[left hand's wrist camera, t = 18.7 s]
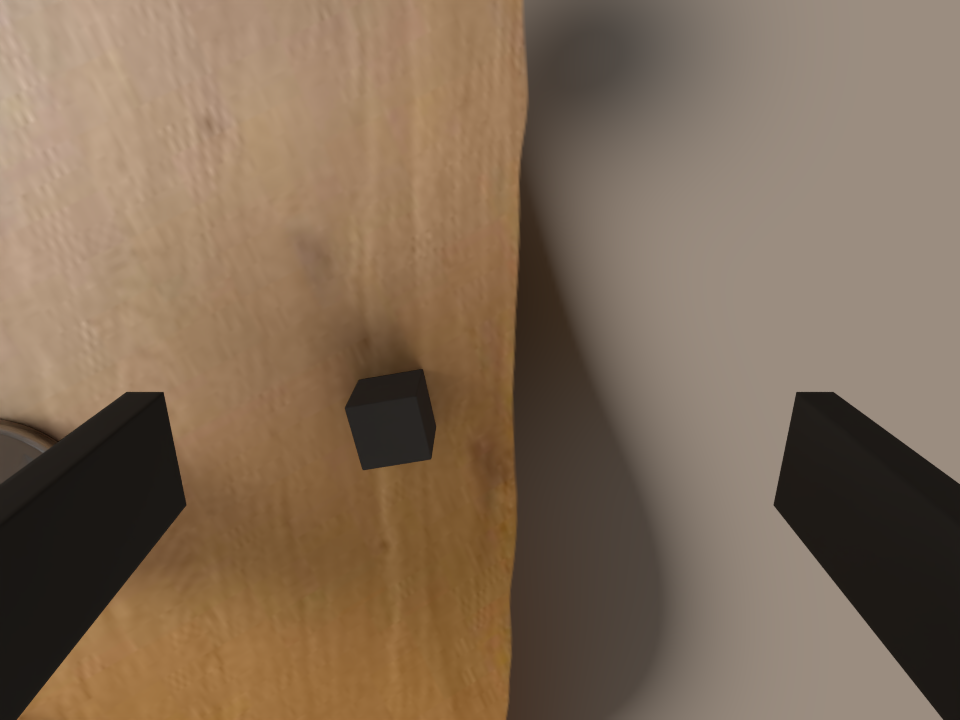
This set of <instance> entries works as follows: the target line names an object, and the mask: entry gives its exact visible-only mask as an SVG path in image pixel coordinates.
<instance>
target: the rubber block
mask: <svg viewBox="0 0 960 720" xmlns="http://www.w3.org/2000/svg"><path fill="white" fill-rule="evenodd" d="M345 410H346V414H347V417H348V421H349V424H350V428H351V431H352V435H353V438H354V442H355V445H356V449H357V452H358V456H359V459H360V463H361V466H362V469H363V470H368V469H374V468H380V467H386V466H393V465H399V464H405V463H411V462H418V461H424V460H430V459H431V458H432V451H433V444H434V438H435V431H436V424H435V420H434V415H433V411H432V407H431V402H430V398H429V394H428V389H427V385H426V381H425V376H424V372H423V369H420V370H414V371H408V372H402V373H396V374H391V375H385V376H379V377H373V378H367V379H361V380H358V382H357V384H356V386H355V388H354V390H353V392H352V394H351V396H350V398H349V401H348V403H347V405H346V407H345Z"/></svg>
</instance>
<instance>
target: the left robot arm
mask: <svg viewBox="0 0 960 720" xmlns="http://www.w3.org/2000/svg"><path fill="white" fill-rule="evenodd" d="M185 506H186V501H185V496H184V491H183V486H182V481H181V476H180V471H179V466H178V461H177V456H176V451H175V446H174V441H173V436H172V432H171V427H170V422H169V417H168V412H167V407H166V402H165V397H164V392H126V393H125V394H123V395H122V396H120V397H119V398H118V399H116V400H115V401H114V402H112V403H111V404H110V405H108V406H107V407H105V408H104V409H103V410H101V411H100V412H99V413H97V414H96V415H94V416H93V417H92V418H90V419H89V420H88V421H86V422H85V423H83V424H82V425H81V426H79V427H78V428H77V429H75V430H74V431H73V432H71V433H70V434H68V435H67V436H66V437H64V438H63V439H62V440H60V441H59V442H57V441H56V440H54V439H52V438H51V437H49V436H47V435H45V434H43V433H42V432H39V431H37V430H35V429H33V428H30V427H27V426H25V425H22V424H18V423H14V422H11V421H5V420H0V720H17V719H18V717H19V716H20V715H21V714H22V712H23V711H24V710H25V709H26V707H27V706H28V705H29V703H30V702H31V701H32V700H33V698H34V697H35V696H36V695H37V693H38V692H39V691H40V690H41V688H42V687H43V686H44V685H45V683H46V682H47V681H48V679H49V678H50V677H51V676H52V674H53V673H54V672H55V671H56V669H57V668H58V667H59V666H60V664H61V663H62V662H63V661H64V659H65V658H66V657H67V655H68V654H69V653H70V652H71V650H72V649H73V648H74V647H75V645H76V644H77V643H78V642H79V640H80V639H81V638H82V637H83V635H84V634H85V633H86V631H87V630H88V629H89V628H90V626H91V625H92V624H93V623H94V621H95V620H96V619H97V618H98V616H99V615H100V614H101V612H102V611H103V610H104V609H105V607H106V606H107V605H108V604H109V602H110V601H111V600H112V599H113V597H114V596H115V595H116V594H117V592H118V591H119V590H120V588H121V587H122V586H123V585H124V583H125V582H126V581H127V580H128V578H129V577H130V576H131V575H132V573H133V572H134V571H135V570H136V568H137V567H138V566H139V564H140V563H141V562H142V561H143V559H144V558H145V557H146V556H147V554H148V553H149V552H150V551H151V549H152V548H153V547H154V546H155V544H156V543H157V542H158V540H159V539H160V538H161V537H162V535H163V534H164V533H165V532H166V530H167V529H168V528H169V527H170V525H171V524H172V523H173V522H174V520H175V519H176V518H177V516H178V515H179V514H180V513H181V511H182V510H183V509H184V508H185ZM774 506H775V508H776V509H777V510H778V511H779V513H780V514H781V515H782V516H783V518H784V519H785V520H786V521H787V523H788V524H789V525H790V527H791V528H792V529H793V530H794V532H795V533H796V534H797V535H798V537H799V538H800V539H801V540H802V542H803V543H804V544H805V546H806V547H807V548H808V549H809V551H810V552H811V553H812V554H813V556H814V557H815V558H816V559H817V561H818V562H819V563H820V564H821V566H822V567H823V568H824V570H825V571H826V572H827V573H828V575H829V576H830V577H831V578H832V580H833V581H834V582H835V583H836V585H837V586H838V587H839V588H840V590H841V591H842V592H843V593H844V595H845V596H846V597H847V598H848V600H849V601H850V602H851V604H852V605H853V606H854V607H855V609H856V610H857V611H858V612H859V614H860V615H861V616H862V618H863V619H864V620H865V621H866V623H867V624H868V625H869V626H870V628H871V629H872V630H873V631H874V633H875V634H876V635H877V637H878V638H879V639H880V640H881V641H882V643H883V644H884V645H885V647H886V648H887V649H888V650H889V652H890V653H891V654H892V655H893V657H894V658H895V659H896V661H897V662H898V663H899V664H900V666H901V667H902V668H903V669H904V671H905V672H906V673H907V674H908V676H909V677H910V678H911V679H912V681H913V682H914V683H915V685H916V686H917V687H918V688H919V689H920V691H921V692H922V693H923V695H924V696H925V697H926V698H927V700H928V701H929V702H930V703H931V705H932V706H933V707H934V708H935V710H936V711H937V712H938V714H939V715H940V716H941V717H942V719H943V720H960V484H959V483H957V482H956V481H955V480H953V479H952V478H951V477H949V476H948V475H946V474H945V473H944V472H942V471H941V470H940V469H938V468H937V467H935V466H934V465H933V464H931V463H930V462H929V461H927V460H926V459H924V458H923V457H922V456H920V455H919V454H918V453H916V452H915V451H914V450H912V449H911V448H909V447H908V446H907V445H905V444H904V443H903V442H901V441H900V440H898V439H897V438H896V437H894V436H893V435H892V434H890V433H889V432H887V431H886V430H885V429H883V428H882V427H881V426H879V425H878V424H876V423H875V422H874V421H872V420H871V419H870V418H868V417H867V416H866V415H864V414H863V413H861V412H860V411H859V410H857V409H856V408H855V407H853V406H852V405H850V404H849V403H848V402H846V401H845V400H844V399H842V398H841V397H839V396H838V395H837V394H835V393H834V392H796V397H795V402H794V407H793V412H792V417H791V422H790V427H789V432H788V436H787V441H786V446H785V451H784V456H783V461H782V466H781V471H780V476H779V481H778V486H777V491H776V496H775V501H774Z"/></svg>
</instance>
